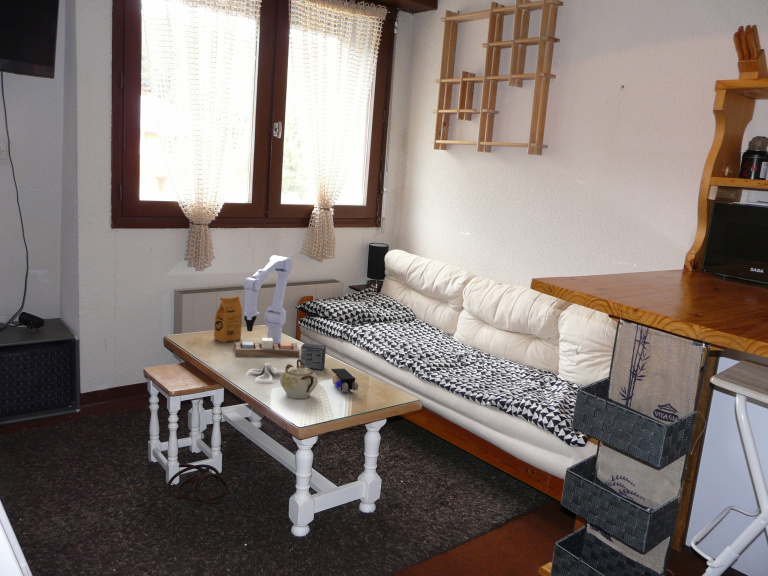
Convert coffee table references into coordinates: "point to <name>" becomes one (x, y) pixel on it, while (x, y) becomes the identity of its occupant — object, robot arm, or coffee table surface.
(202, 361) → the coffee table surface
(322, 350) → the small box
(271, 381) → the cloth
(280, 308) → the robot arm
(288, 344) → the terracotta block
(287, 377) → the sugar bowl
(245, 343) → the slate block
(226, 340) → the coffee package
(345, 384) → the figurine character
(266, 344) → the cream block
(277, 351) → the block rack
